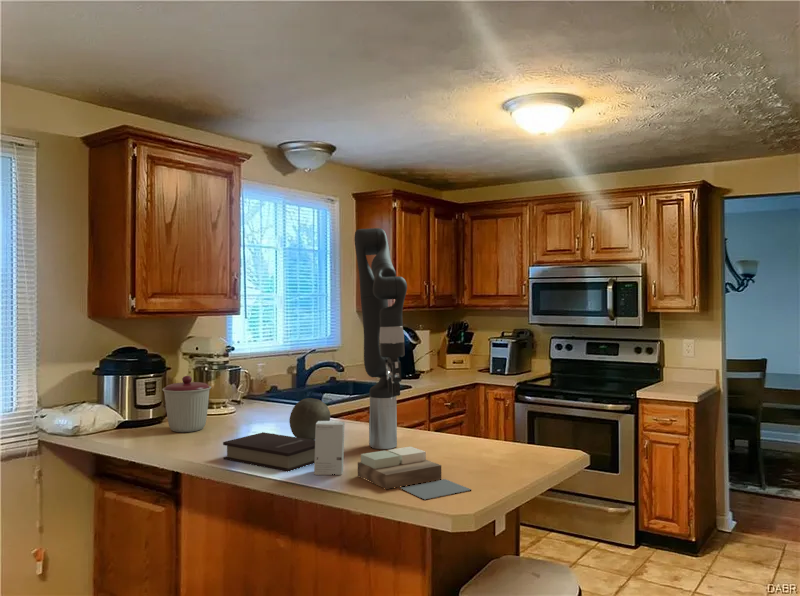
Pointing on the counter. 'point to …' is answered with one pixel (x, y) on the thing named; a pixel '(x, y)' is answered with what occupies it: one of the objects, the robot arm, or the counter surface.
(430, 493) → the grey mat
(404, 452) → the cream tile
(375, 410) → the robot arm
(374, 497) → the counter surface
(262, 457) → the book
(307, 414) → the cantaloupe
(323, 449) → the skincare box
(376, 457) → the sage tile
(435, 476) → the walnut board
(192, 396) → the canister
